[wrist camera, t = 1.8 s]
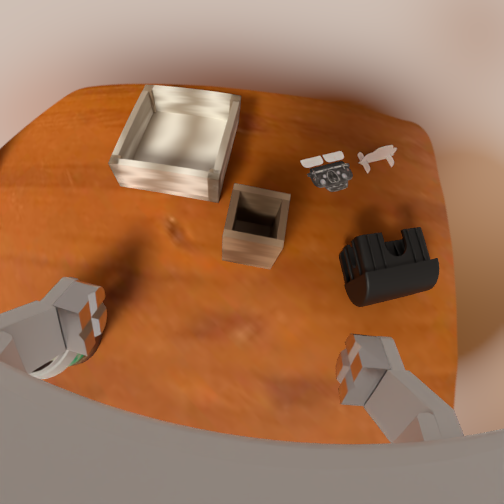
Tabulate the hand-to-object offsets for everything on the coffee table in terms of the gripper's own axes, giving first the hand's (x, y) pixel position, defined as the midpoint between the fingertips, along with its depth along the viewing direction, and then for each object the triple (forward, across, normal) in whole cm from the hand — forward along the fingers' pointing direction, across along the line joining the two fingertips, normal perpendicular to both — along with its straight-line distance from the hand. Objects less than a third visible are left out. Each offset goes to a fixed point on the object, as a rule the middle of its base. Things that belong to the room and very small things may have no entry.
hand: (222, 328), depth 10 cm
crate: (+33, +10, +2) cm, 35 cm away
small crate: (+26, -1, +9) cm, 28 cm away
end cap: (+26, -17, +10) cm, 32 cm away
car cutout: (+36, -12, 0) cm, 38 cm away
